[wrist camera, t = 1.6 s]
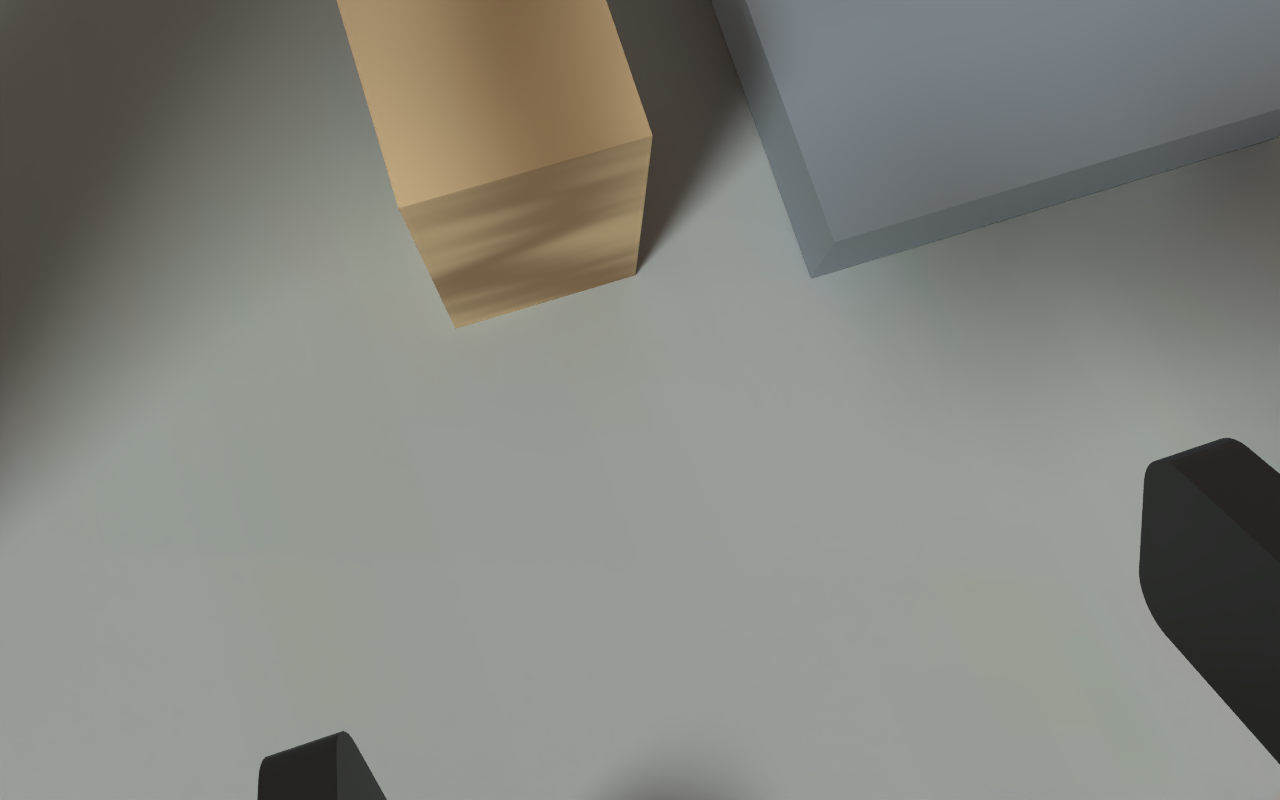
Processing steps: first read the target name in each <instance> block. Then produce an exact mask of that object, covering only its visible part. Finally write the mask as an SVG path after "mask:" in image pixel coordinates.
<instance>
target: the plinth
mask: <svg viewBox="0 0 1280 800" xmlns="http://www.w3.org/2000/svg"><path fill="white" fill-rule="evenodd" d="M711 2H712V5H713V7H714V10H715V13H716V16H717V18H718V21H719V24H720V27H721V30H722V32H723V35H724V38H725V41H726V43H727V46H728V49H729V52H730V54H731V57H732V60H733V63H734V66H735V68H736V71H737V74H738V77H739V79H740V82H741V85H742V88H743V91H744V93H745V96H746V99H747V102H748V104H749V107H750V110H751V113H752V115H753V118H754V121H755V124H756V127H757V129H758V132H759V135H760V138H761V140H762V143H763V146H764V149H765V152H766V154H767V157H768V160H769V163H770V165H771V168H772V171H773V174H774V176H775V179H776V182H777V185H778V188H779V190H780V193H781V196H782V199H783V201H784V204H785V207H786V210H787V213H788V215H789V218H790V221H791V224H792V226H793V229H794V232H795V235H796V237H797V240H798V243H799V246H800V249H801V251H802V254H803V257H804V260H805V262H806V265H807V268H808V271H809V274H810V276H811V278H814V277H818V276H821V275H824V274H827V273H831V272H834V271H837V270H841V269H844V268H847V267H851V266H854V265H857V264H860V263H864V262H867V261H870V260H874V259H877V258H880V257H884V256H887V255H890V254H894V253H897V252H900V251H903V250H907V249H910V248H913V247H917V246H920V245H923V244H927V243H930V242H933V241H936V240H940V239H943V238H946V237H950V236H953V235H956V234H960V233H963V232H966V231H970V230H973V229H976V228H979V227H983V226H986V225H989V224H993V223H996V222H999V221H1003V220H1006V219H1009V218H1012V217H1016V216H1019V215H1022V214H1026V213H1029V212H1032V211H1036V210H1039V209H1042V208H1045V207H1049V206H1052V205H1055V204H1059V203H1062V202H1065V201H1069V200H1072V199H1075V198H1079V197H1082V196H1085V195H1088V194H1092V193H1095V192H1098V191H1102V190H1105V189H1108V188H1112V187H1115V186H1118V185H1121V184H1125V183H1128V182H1131V181H1135V180H1138V179H1141V178H1145V177H1148V176H1151V175H1155V174H1158V173H1161V172H1164V171H1168V170H1171V169H1174V168H1178V167H1181V166H1184V165H1188V164H1191V163H1194V162H1197V161H1201V160H1204V159H1207V158H1211V157H1214V156H1217V155H1221V154H1224V153H1227V152H1231V151H1234V150H1237V149H1240V148H1244V147H1247V146H1250V145H1254V144H1257V143H1260V142H1264V141H1267V140H1270V139H1273V138H1277V137H1278V136H1280V0H711Z"/></svg>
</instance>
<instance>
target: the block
mask: <svg viewBox="0 0 1280 800" xmlns="http://www.w3.org/2000/svg"><path fill="white" fill-rule="evenodd" d="M337 3H338V7H339V10H340V13H341V17H342V20H343V23H344V27H345V30H346V34H347V37H348V40H349V44H350V47H351V50H352V54H353V57H354V60H355V64H356V67H357V70H358V74H359V77H360V81H361V84H362V87H363V91H364V94H365V97H366V101H367V104H368V107H369V111H370V114H371V117H372V121H373V124H374V128H375V131H376V134H377V138H378V141H379V144H380V148H381V151H382V154H383V158H384V161H385V164H386V168H387V171H388V175H389V178H390V181H391V185H392V188H393V191H394V195H395V198H396V201H397V205H398V208H399V210H400V212H401V215H402V217H403V219H404V221H405V223H406V225H407V227H408V229H409V231H410V234H411V236H412V238H413V240H414V242H415V244H416V246H417V248H418V250H419V253H420V255H421V257H422V259H423V261H424V263H425V265H426V267H427V269H428V272H429V274H430V276H431V278H432V280H433V282H434V284H435V286H436V288H437V291H438V293H439V295H440V297H441V299H442V301H443V303H444V305H445V307H446V310H447V312H448V314H449V316H450V318H451V320H452V322H453V324H454V326H455V329H456V328H460V327H463V326H466V325H470V324H473V323H476V322H480V321H483V320H486V319H490V318H493V317H496V316H500V315H503V314H507V313H510V312H513V311H517V310H520V309H523V308H527V307H530V306H533V305H537V304H540V303H544V302H547V301H550V300H554V299H557V298H560V297H564V296H567V295H570V294H574V293H577V292H580V291H584V290H587V289H591V288H594V287H597V286H601V285H604V284H607V283H611V282H614V281H617V280H621V279H624V278H627V277H631V276H634V275H636V267H637V259H638V251H639V242H640V234H641V226H642V218H643V210H644V202H645V194H646V186H647V177H648V169H649V161H650V153H651V145H652V137H653V135H652V132H651V129H650V127H649V124H648V121H647V118H646V115H645V112H644V109H643V106H642V103H641V100H640V97H639V94H638V92H637V89H636V86H635V83H634V80H633V77H632V74H631V71H630V68H629V65H628V62H627V59H626V57H625V54H624V51H623V48H622V45H621V42H620V39H619V36H618V33H617V30H616V27H615V24H614V22H613V19H612V16H611V13H610V10H609V7H608V4H607V1H606V0H337Z"/></svg>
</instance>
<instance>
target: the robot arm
mask: <svg viewBox="0 0 1280 800" xmlns="http://www.w3.org/2000/svg"><path fill="white" fill-rule="evenodd" d="M1139 577H1140V584H1141V588H1142V592H1143V595H1144V598H1145V601H1146V603H1147V606H1148V608H1149V610H1150V612H1151V614H1152V616H1153V617H1154V619H1155V621H1156V623H1157V624H1158V626H1159V627H1160V628H1161V630H1162V631H1163V632H1164V634H1165V635H1166V636H1167V637H1168V638H1169V639H1170V641H1171V642H1172V643H1173V644H1174V645H1175V646H1176V647H1177V648H1178V650H1179V651H1180V652H1181V653H1182V654H1183V655H1184V656H1185V658H1186V659H1187V660H1188V661H1189V662H1190V663H1191V664H1192V665H1193V667H1194V668H1195V669H1196V670H1197V671H1198V672H1199V673H1200V674H1201V676H1202V677H1203V678H1204V679H1205V680H1206V681H1207V682H1208V684H1209V685H1210V686H1211V687H1212V688H1213V689H1214V690H1215V691H1216V693H1217V694H1218V695H1219V696H1220V697H1221V698H1222V699H1223V701H1224V702H1225V703H1226V704H1227V705H1228V706H1229V707H1230V708H1231V710H1232V711H1233V712H1234V713H1235V714H1236V715H1237V716H1238V717H1239V719H1240V720H1241V721H1242V722H1243V723H1244V724H1245V725H1246V727H1247V728H1248V729H1249V730H1250V731H1251V732H1252V733H1253V734H1254V736H1255V737H1256V738H1257V739H1258V740H1259V741H1260V742H1261V744H1262V745H1263V746H1264V747H1265V748H1266V749H1267V750H1268V751H1269V753H1270V754H1271V755H1272V756H1273V757H1274V758H1275V759H1276V760H1277V762H1278V763H1279V764H1280V474H1279V473H1278V472H1277V471H1276V470H1274V469H1273V468H1272V467H1271V466H1270V465H1268V464H1267V463H1266V462H1265V461H1264V460H1262V459H1261V458H1260V457H1259V456H1258V455H1256V454H1255V453H1254V452H1253V451H1252V450H1250V449H1249V448H1248V447H1247V446H1245V445H1244V444H1242V443H1241V442H1239V441H1237V440H1234V439H1231V438H1222V439H1219V440H1216V441H1213V442H1210V443H1207V444H1204V445H1201V446H1198V447H1195V448H1192V449H1189V450H1186V451H1183V452H1181V453H1178V454H1175V455H1172V456H1169V457H1166V458H1163V459H1160V460H1157V461H1154V462H1152V463H1151V464H1150V465H1149V466H1148V468H1147V470H1146V473H1145V478H1144V493H1143V510H1142V528H1141V545H1140V563H1139ZM258 800H387V799H386V797H385V796H384V794H383V792H382V790H381V789H380V787H379V785H378V783H377V781H376V780H375V778H374V776H373V774H372V772H371V771H370V769H369V767H368V765H367V764H366V762H365V760H364V758H363V756H362V755H361V753H360V751H359V749H358V748H357V746H356V744H355V742H354V741H353V739H352V738H351V736H350V735H349V734H348V733H346V732H344V731H342V732H339V733H336V734H333V735H330V736H327V737H324V738H321V739H318V740H315V741H312V742H309V743H306V744H303V745H300V746H297V747H294V748H291V749H288V750H285V751H282V752H279V753H276V754H273V755H270V756H268V757H265V758H264V759H263V761H262V763H261V766H260V770H259V781H258Z"/></svg>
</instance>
